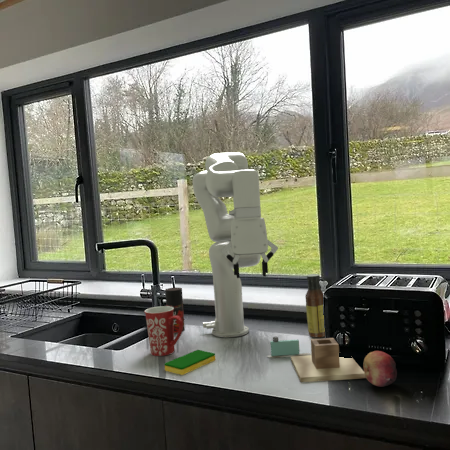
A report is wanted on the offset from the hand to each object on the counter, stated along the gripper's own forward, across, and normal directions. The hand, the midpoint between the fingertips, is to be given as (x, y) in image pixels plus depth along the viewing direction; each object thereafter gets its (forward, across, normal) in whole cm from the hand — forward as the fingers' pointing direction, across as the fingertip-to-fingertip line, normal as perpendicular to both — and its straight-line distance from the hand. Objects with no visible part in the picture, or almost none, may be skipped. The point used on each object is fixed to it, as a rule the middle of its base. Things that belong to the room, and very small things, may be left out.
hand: (251, 276), depth 138 cm
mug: (+24, -26, +10) cm, 37 cm away
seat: (+24, +15, -10) cm, 29 cm away
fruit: (+24, +27, -25) cm, 44 cm away
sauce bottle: (+24, +22, +18) cm, 37 cm away
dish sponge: (+24, -18, -2) cm, 31 cm away
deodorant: (+24, -26, +35) cm, 50 cm away
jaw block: (+22, +17, -12) cm, 31 cm away
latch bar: (+24, +8, 0) cm, 25 cm away
